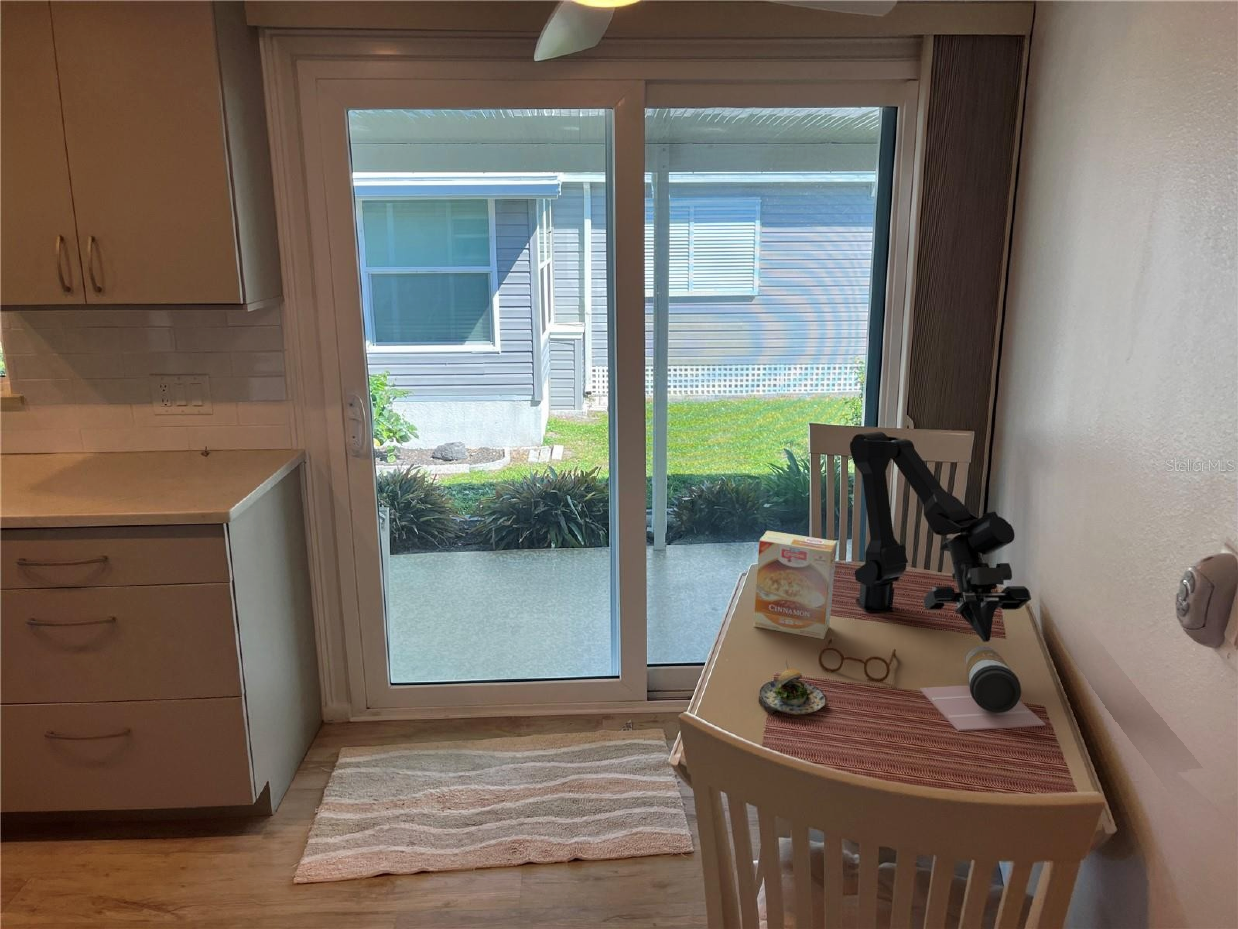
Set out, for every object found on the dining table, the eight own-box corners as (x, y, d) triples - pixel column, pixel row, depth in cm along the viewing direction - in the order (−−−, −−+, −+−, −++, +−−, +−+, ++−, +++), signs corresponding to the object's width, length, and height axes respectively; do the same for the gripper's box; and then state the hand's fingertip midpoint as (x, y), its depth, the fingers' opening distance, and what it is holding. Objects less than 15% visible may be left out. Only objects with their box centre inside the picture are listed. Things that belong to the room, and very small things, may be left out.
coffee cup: (1013, 649, 167) (1030, 679, 152) (997, 688, 168) (1013, 723, 154) (968, 634, 168) (981, 663, 154) (953, 673, 170) (964, 706, 156)
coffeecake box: (752, 627, 189) (758, 539, 183) (760, 614, 195) (766, 529, 190) (824, 640, 183) (832, 551, 178) (829, 626, 190) (837, 539, 184)
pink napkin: (957, 731, 151) (958, 729, 151) (919, 689, 164) (919, 687, 164) (1045, 725, 153) (1045, 723, 153) (1000, 685, 167) (1000, 683, 167)
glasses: (817, 671, 171) (819, 647, 170) (830, 643, 183) (832, 620, 182) (887, 686, 166) (890, 661, 165) (896, 656, 178) (899, 633, 177)
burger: (766, 722, 153) (769, 683, 151) (751, 688, 164) (754, 651, 162) (835, 721, 154) (838, 682, 152) (815, 687, 165) (819, 650, 163)
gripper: (936, 546, 167) (954, 626, 159) (1033, 546, 168) (1056, 626, 161) (916, 570, 177) (932, 647, 169) (1008, 570, 178) (1028, 646, 170)
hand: (986, 641), depth 167 cm, fingers closed
